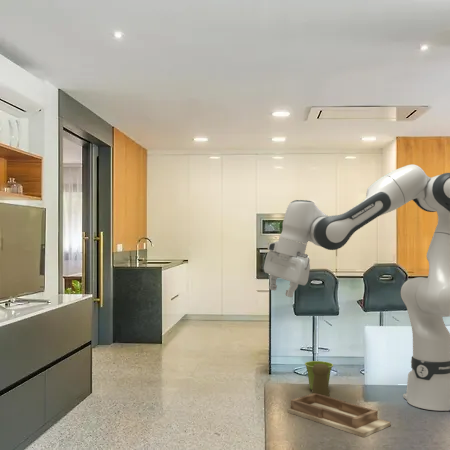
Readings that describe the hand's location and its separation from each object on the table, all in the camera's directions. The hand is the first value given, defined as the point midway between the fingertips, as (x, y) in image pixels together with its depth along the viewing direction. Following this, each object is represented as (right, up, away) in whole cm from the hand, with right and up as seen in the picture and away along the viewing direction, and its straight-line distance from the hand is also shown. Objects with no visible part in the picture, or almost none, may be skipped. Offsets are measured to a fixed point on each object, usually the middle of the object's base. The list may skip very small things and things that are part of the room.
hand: (280, 293), depth 170 cm
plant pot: (+15, -35, +15) cm, 41 cm away
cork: (+13, -35, +4) cm, 37 cm away
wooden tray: (+15, -34, -14) cm, 40 cm away
